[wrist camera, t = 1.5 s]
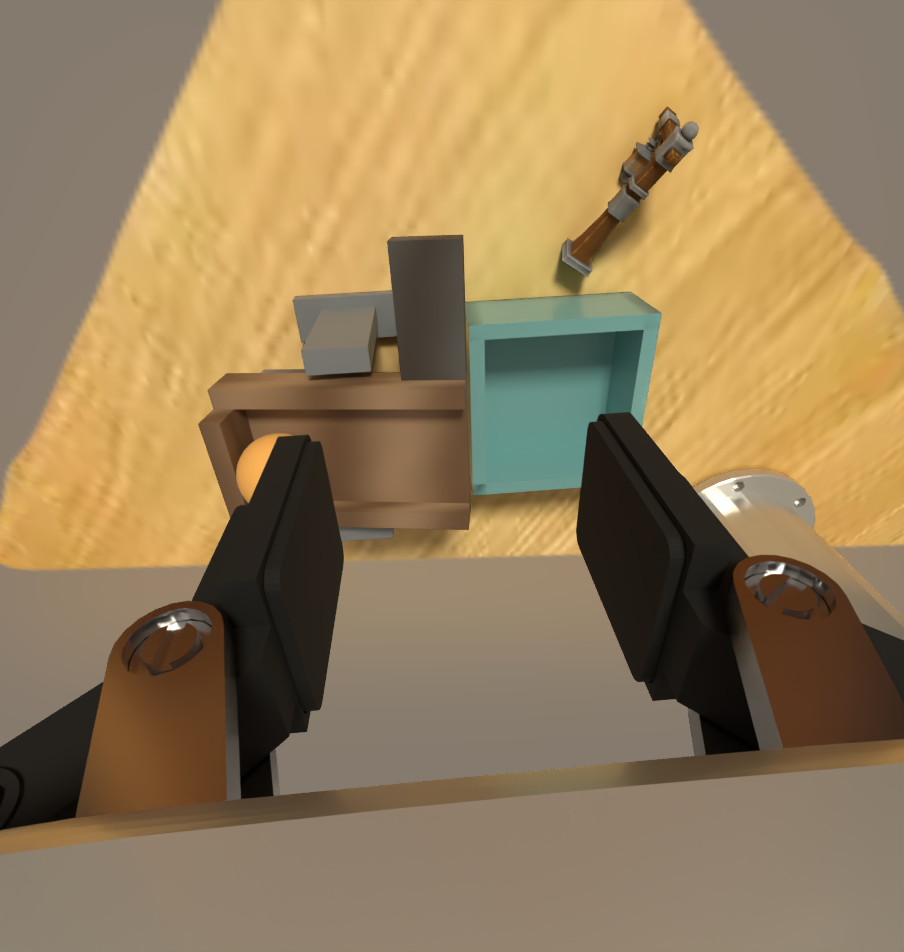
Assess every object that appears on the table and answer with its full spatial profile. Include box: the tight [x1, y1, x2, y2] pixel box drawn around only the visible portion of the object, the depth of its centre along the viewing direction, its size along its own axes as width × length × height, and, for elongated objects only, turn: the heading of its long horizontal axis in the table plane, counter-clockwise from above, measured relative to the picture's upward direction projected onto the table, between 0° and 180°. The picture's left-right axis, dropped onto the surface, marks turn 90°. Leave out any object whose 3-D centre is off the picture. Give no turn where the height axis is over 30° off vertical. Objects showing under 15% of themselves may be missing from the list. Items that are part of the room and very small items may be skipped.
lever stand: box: [293, 290, 397, 541], centre depth 30 cm, size 6×12×8 cm, turn 3°
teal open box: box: [465, 292, 662, 496], centre depth 32 cm, size 10×11×4 cm
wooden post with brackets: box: [562, 107, 699, 277], centre depth 27 cm, size 2×8×4 cm, turn 150°
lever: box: [198, 235, 471, 530], centre depth 26 cm, size 12×14×6 cm
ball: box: [236, 433, 294, 503], centre depth 26 cm, size 4×4×4 cm
